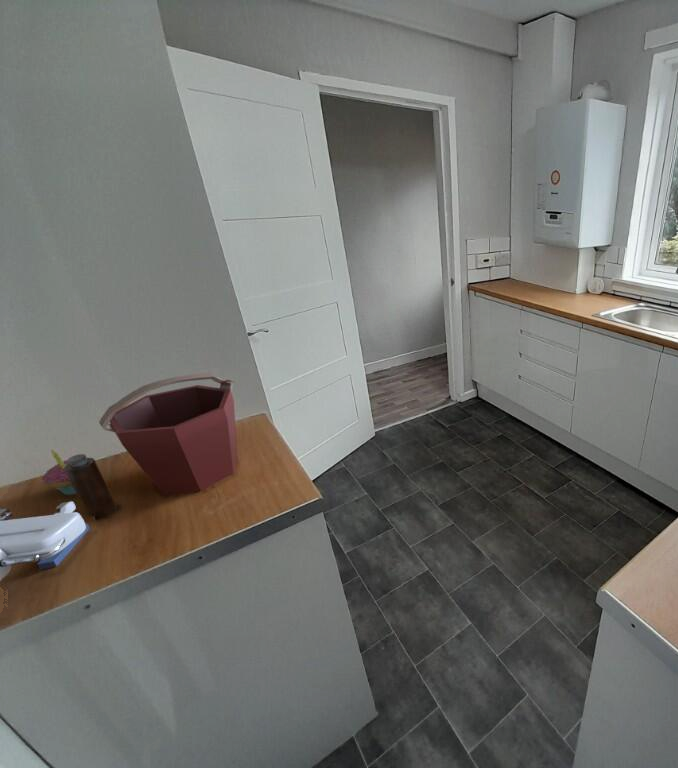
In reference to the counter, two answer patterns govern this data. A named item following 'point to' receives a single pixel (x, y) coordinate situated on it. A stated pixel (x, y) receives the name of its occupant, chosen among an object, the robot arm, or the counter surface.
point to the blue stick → (60, 553)
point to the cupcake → (59, 477)
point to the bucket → (179, 433)
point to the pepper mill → (90, 486)
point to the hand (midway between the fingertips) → (38, 508)
